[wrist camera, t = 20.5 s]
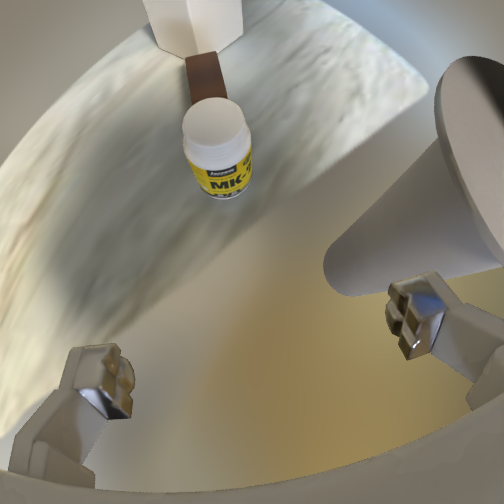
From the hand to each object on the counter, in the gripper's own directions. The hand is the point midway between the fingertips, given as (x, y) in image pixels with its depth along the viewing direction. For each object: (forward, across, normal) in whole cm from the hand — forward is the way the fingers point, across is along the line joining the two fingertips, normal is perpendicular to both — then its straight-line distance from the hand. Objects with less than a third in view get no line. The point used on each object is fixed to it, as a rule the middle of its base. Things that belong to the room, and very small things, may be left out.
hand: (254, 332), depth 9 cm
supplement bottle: (+20, 0, +3) cm, 20 cm away
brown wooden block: (+26, 0, -4) cm, 26 cm away
